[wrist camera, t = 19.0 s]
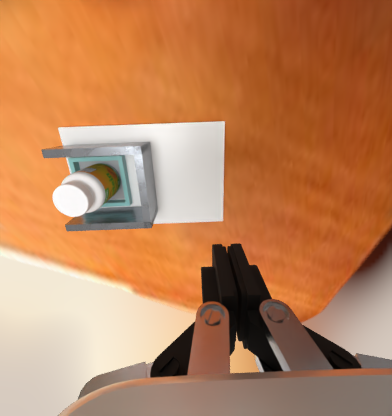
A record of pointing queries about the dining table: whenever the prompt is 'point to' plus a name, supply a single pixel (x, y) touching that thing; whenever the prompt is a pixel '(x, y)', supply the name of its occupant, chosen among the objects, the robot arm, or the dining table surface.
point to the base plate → (163, 166)
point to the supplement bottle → (86, 190)
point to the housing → (116, 215)
